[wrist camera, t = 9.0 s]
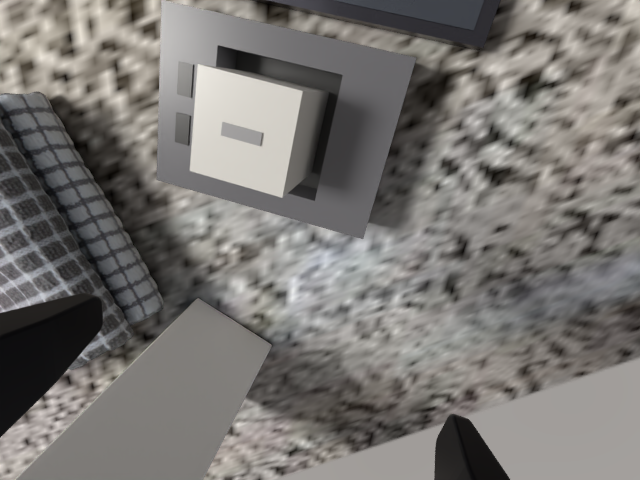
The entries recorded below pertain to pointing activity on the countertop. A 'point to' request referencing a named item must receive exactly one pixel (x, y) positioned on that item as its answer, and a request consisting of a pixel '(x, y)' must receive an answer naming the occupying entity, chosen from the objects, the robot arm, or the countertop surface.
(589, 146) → the countertop surface
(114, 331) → the towel
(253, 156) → the block
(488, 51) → the countertop surface
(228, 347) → the milk
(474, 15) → the phone
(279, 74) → the grey tray
